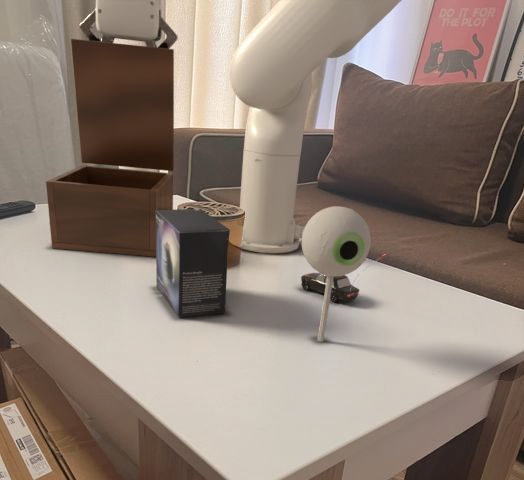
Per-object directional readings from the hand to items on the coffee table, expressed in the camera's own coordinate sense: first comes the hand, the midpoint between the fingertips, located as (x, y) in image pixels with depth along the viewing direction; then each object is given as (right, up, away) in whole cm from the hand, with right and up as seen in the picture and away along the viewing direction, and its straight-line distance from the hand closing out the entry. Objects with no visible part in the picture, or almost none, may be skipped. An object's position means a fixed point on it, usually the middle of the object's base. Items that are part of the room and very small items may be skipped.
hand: (130, 83), depth 90 cm
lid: (0, -6, -2) cm, 6 cm away
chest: (-2, -27, 0) cm, 27 cm away
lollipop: (+29, -45, -30) cm, 61 cm away
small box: (+13, -40, -23) cm, 48 cm away
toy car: (+33, -39, -17) cm, 54 cm away
